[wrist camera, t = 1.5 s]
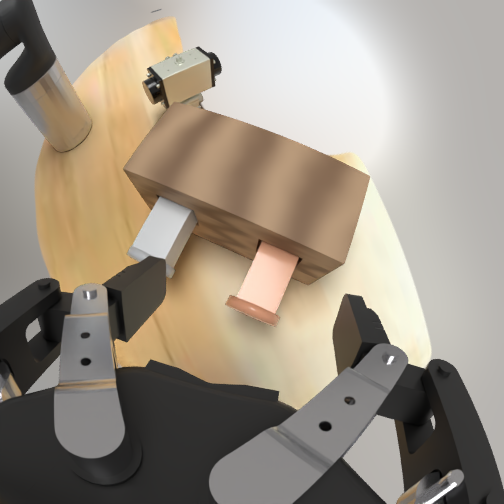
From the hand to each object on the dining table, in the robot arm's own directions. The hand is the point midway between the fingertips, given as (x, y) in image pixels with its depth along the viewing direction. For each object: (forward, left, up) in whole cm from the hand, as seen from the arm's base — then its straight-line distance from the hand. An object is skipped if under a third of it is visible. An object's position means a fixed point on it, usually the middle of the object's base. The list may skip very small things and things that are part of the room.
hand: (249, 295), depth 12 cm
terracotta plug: (+1, +6, -19) cm, 20 cm away
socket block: (-5, +12, -23) cm, 27 cm away
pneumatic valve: (-23, +27, -24) cm, 43 cm away
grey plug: (-11, +6, -19) cm, 23 cm away
